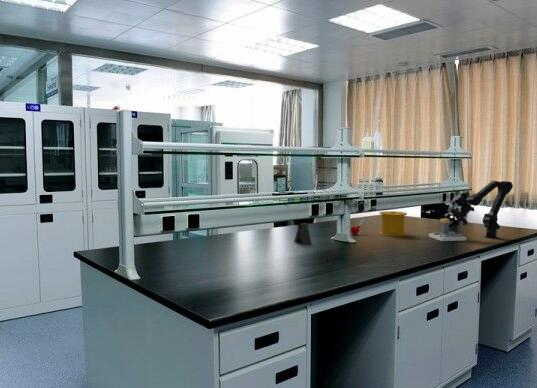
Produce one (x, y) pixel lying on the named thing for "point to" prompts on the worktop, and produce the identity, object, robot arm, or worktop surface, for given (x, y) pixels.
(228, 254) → the worktop surface
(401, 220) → the spool
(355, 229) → the molecular model
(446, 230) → the breaker handle
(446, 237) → the white rail base plate
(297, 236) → the phone stand
